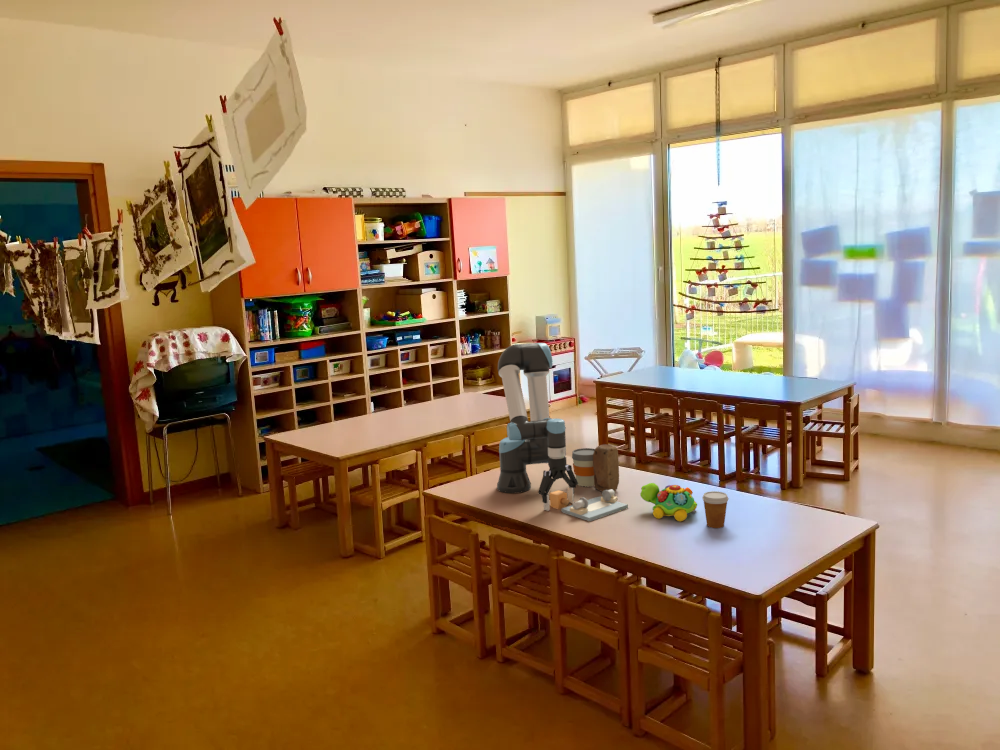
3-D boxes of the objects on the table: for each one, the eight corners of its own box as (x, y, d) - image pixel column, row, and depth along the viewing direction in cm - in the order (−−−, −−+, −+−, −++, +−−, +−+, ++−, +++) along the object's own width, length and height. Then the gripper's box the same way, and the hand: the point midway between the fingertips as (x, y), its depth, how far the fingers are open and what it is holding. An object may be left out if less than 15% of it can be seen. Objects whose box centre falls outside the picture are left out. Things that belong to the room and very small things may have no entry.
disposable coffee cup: (716, 531, 294) (716, 500, 292) (697, 524, 302) (696, 494, 300) (734, 525, 299) (734, 495, 297) (714, 519, 307) (714, 489, 305)
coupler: (562, 510, 325) (562, 496, 324) (546, 505, 333) (545, 491, 332) (571, 507, 328) (571, 493, 327) (555, 502, 336) (554, 488, 335)
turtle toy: (648, 503, 329) (647, 476, 327) (703, 510, 317) (703, 482, 315) (633, 516, 315) (632, 487, 313) (690, 524, 303) (690, 494, 301)
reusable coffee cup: (567, 482, 363) (566, 450, 360) (590, 478, 368) (589, 446, 366) (582, 489, 351) (581, 456, 349) (606, 484, 357) (605, 452, 355)
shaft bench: (561, 512, 324) (561, 496, 322) (601, 498, 338) (601, 483, 337) (589, 521, 311) (589, 504, 310) (630, 507, 325) (629, 491, 324)
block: (621, 490, 347) (620, 446, 344) (609, 494, 343) (608, 449, 339) (603, 485, 356) (601, 442, 352) (591, 489, 351) (589, 445, 348)
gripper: (540, 464, 317) (542, 515, 320) (585, 452, 332) (586, 501, 335) (528, 461, 322) (530, 511, 326) (572, 449, 338) (574, 497, 341)
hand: (558, 506), depth 330 cm, fingers open, 13 cm apart
